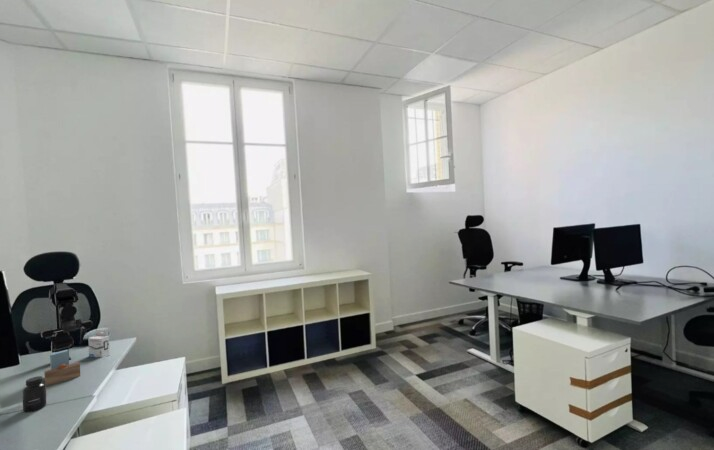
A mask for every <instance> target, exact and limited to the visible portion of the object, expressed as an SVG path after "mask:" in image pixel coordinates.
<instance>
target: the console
mask: <svg viewBox="0 0 714 450" xmlns="http://www.w3.org/2000/svg"><path fill="white" fill-rule="evenodd" d="M43 372H44V377H43V383H45V384H46V387H48V386H51V385H55V384H59V383H61V382H65V381H68V380H72V379H75V378H78V377H81V363H80V362H79V361H75V362H73V363H69V365H66V364H61V365H59V367H58V368H54V369H51V368H50V369H47V370H45V371H43Z"/></svg>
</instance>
